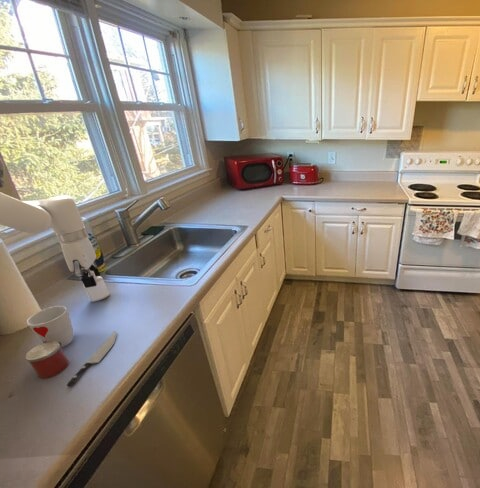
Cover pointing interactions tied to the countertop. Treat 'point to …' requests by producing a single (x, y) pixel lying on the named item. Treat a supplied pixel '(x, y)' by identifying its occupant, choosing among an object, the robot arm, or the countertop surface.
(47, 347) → the spice tin
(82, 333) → the countertop surface
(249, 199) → the countertop surface
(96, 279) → the eye dropper bottle
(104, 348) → the chef's knife
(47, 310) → the cup
